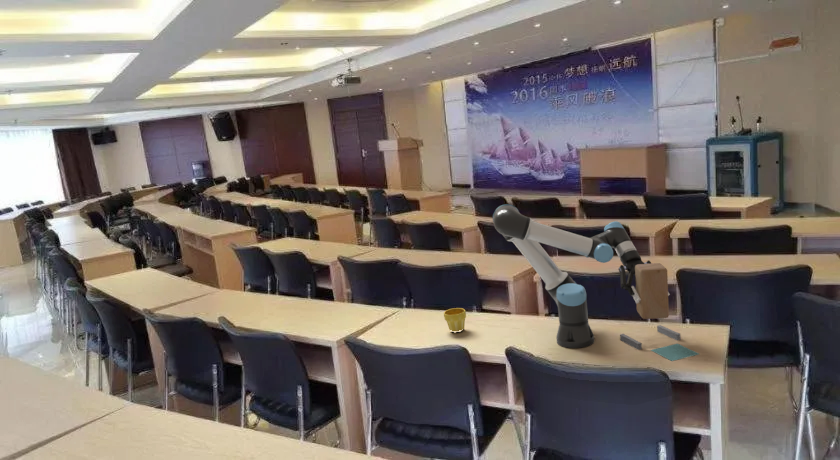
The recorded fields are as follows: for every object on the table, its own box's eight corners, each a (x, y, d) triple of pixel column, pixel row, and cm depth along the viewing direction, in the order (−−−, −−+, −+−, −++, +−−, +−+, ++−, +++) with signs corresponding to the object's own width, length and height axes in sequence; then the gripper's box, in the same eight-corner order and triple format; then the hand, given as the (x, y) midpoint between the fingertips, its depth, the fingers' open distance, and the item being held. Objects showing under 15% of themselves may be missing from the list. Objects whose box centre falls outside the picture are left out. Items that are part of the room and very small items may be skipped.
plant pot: (441, 333, 261) (439, 313, 260) (455, 326, 269) (452, 306, 267) (458, 336, 254) (456, 316, 253) (472, 328, 262) (469, 309, 260)
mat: (650, 350, 212) (650, 349, 212) (677, 343, 215) (677, 343, 215) (671, 361, 201) (671, 360, 201) (699, 354, 204) (699, 353, 204)
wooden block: (669, 318, 213) (667, 268, 210) (642, 320, 215) (640, 270, 211) (662, 310, 223) (660, 262, 220) (636, 311, 224) (634, 264, 221)
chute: (620, 340, 226) (619, 334, 225) (660, 330, 230) (660, 325, 229) (638, 349, 214) (638, 343, 214) (680, 339, 218) (680, 333, 218)
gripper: (650, 255, 235) (675, 298, 222) (598, 264, 229) (622, 309, 217) (657, 244, 229) (684, 289, 217) (605, 253, 223) (629, 299, 211)
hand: (653, 299), depth 217 cm, fingers closed on wooden block, 12 cm apart
